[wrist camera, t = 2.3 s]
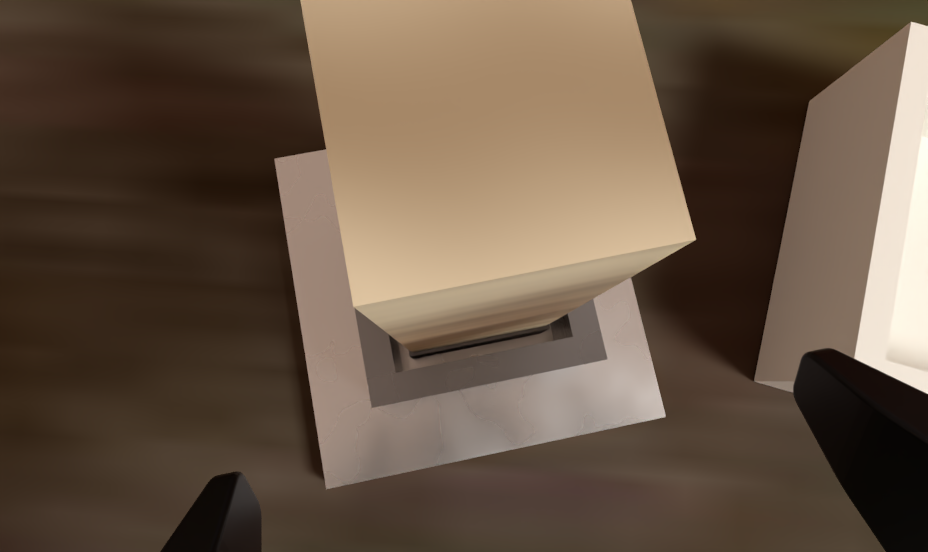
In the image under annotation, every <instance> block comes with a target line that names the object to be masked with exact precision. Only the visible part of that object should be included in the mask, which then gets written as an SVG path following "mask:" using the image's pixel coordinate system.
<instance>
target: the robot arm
mask: <svg viewBox="0 0 928 552" xmlns="http://www.w3.org/2000/svg"><path fill="white" fill-rule="evenodd" d="M793 394H794V398H795V401H796V403H797V405H798V407H799V409H800V410H801V412H802V414H803V416H804V418H805V420H806V422H807V423H808V425H809V427H810V429H811V431H812V433H813V435H814V436H815V438H816V440H817V442H818V444H819V446H820V448H821V449H822V451H823V453H824V455H825V457H826V459H827V461H828V462H829V464H830V466H831V468H832V470H833V472H834V473H835V475H836V477H837V479H838V480H839V482H840V484H841V485H842V487H843V489H844V490H845V492H846V493H847V495H848V496H849V498H850V499H851V501H852V502H853V504H854V505H855V507H856V508H857V510H858V511H859V513H860V514H861V516H862V517H863V519H864V520H865V522H866V523H867V525H868V526H869V527H870V529H871V530H872V532H873V533H874V535H875V536H876V538H877V539H878V541H879V542H880V544H881V545H882V547H883V548H884V550H885V551H886V552H928V394H927V393H925V392H923V391H921V390H919V389H916V388H914V387H912V386H910V385H908V384H906V383H904V382H902V381H900V380H898V379H896V378H894V377H892V376H889V375H887V374H885V373H883V372H881V371H879V370H877V369H875V368H873V367H871V366H869V365H867V364H865V363H863V362H860V361H858V360H856V359H854V358H852V357H850V356H848V355H846V354H844V353H842V352H840V351H838V350H835V349H832V348H823V349H819V350H814V351H809V352H806V353H805V354H804V355H803V356H802V358H801V361H800V364H799V368H798V371H797V375H796V378H795V382H794V385H793ZM161 552H261V509H260V505H259V502H258V500H257V498H256V496H255V494H254V492H253V491H252V489H251V487H250V485H249V483H248V481H247V480H246V478H245V476H244V475H243V474H242V473H241V472H231V473H226V474H222V475H217V476H215V477H213V478H212V479H211V480H210V481H209V482H208V484H207V485H206V487H205V488H204V489H203V491H202V492H201V494H200V495H199V497H198V498H197V500H196V501H195V502H194V504H193V505H192V507H191V508H190V510H189V511H188V513H187V514H186V515H185V517H184V518H183V520H182V521H181V523H180V524H179V526H178V527H177V528H176V530H175V531H174V533H173V534H172V536H171V537H170V539H169V540H168V541H167V543H166V544H165V546H164V547H163V549H162V550H161Z"/></svg>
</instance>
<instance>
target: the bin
mask: <svg viewBox="0 0 928 552" xmlns="http://www.w3.org/2000/svg"><path fill="white" fill-rule="evenodd" d="M823 348H832V349H835V350H838V351H840V352H842V353H844V354H846V355H848V356H850V357H852V358H854V359H856V360H858V361H860V362H863V363H865V364H867V365H869V366H871V367H873V368H875V369H877V370H879V371H881V372H883V373H885V374H887V375H889V376H892V377H894V378H896V379H898V380H900V381H902V382H904V383H906V384H908V385H910V386H912V387H914V388H916V389H919V390H921V391H923V392H925V393H927V394H928V26H925V25H921V24H917V23H913V22H910V23H909V24H908V25H907V26H905V27H904V28H903V29H901V30H900V31H899V32H898V33H896V34H895V35H894V36H892V37H891V38H890V39H889V40H887V41H886V42H885V43H883V44H882V45H881V46H880V47H878V48H877V49H876V50H874V51H873V52H872V53H871V54H869V55H868V56H867V57H865V58H864V59H863V60H862V61H860V62H859V63H858V64H856V65H855V66H854V67H853V68H851V69H850V70H849V71H847V72H846V73H845V74H844V75H842V76H841V77H840V78H838V79H837V80H836V81H835V82H833V83H832V84H831V85H829V86H828V87H827V88H826V89H824V90H823V91H822V92H820V93H819V94H818V95H817V96H815V97H814V98H813V99H811V100H810V101H809V104H808V110H807V115H806V120H805V125H804V130H803V135H802V140H801V145H800V150H799V155H798V160H797V165H796V170H795V175H794V181H793V186H792V191H791V196H790V201H789V206H788V211H787V216H786V221H785V226H784V231H783V236H782V241H781V246H780V252H779V257H778V262H777V267H776V272H775V277H774V282H773V287H772V292H771V297H770V302H769V307H768V312H767V317H766V322H765V328H764V333H763V338H762V343H761V348H760V353H759V358H758V363H757V368H756V373H755V378H754V382H758V383H761V384H765V385H768V386H772V387H775V388H779V389H782V390H786V391H789V392H793V385H794V382H795V378H796V375H797V371H798V368H799V364H800V361H801V358H802V356H803V355H804V354H805V353H806V352H809V351H814V350H819V349H823Z"/></svg>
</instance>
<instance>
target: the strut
mask: <svg viewBox="0 0 928 552" xmlns="http://www.w3.org/2000/svg"><path fill="white" fill-rule="evenodd" d="M301 6H302V12H303V18H304V23H305V29H306V35H307V41H308V47H309V52H310V58H311V64H312V70H313V76H314V81H315V87H316V93H317V99H318V105H319V110H320V116H321V122H322V128H323V134H324V139H325V145H326V151H327V157H328V163H329V168H330V174H331V180H332V186H333V191H334V197H335V203H336V209H337V215H338V220H339V226H340V232H341V238H342V244H343V249H344V255H345V261H346V267H347V273H348V278H349V284H350V290H351V296H352V302H353V307H354V308H355V309H357V310H358V311H359V312H361V313H362V314H363V315H365V316H366V317H367V318H368V319H370V320H371V321H372V322H374V323H375V324H376V325H377V326H379V327H380V328H381V329H383V330H384V331H385V332H386V333H388V334H389V335H390V336H392V337H393V338H394V339H395V340H397V341H398V342H399V343H401V344H402V345H403V346H404V347H406V348H407V349H408V350H409V356H410V357H411V358H412V359H418V358H423V357H427V356H432V355H437V354H442V353H447V352H452V351H457V350H462V349H467V348H472V347H477V346H482V345H487V344H492V343H497V342H502V341H507V340H512V339H516V338H521V337H526V336H531V335H536V334H540V333H542V332H544V331H546V330H548V329H550V326H549V324H550V323H552V322H553V321H555V320H557V319H559V318H560V317H562V316H564V315H566V314H567V313H569V312H571V311H573V310H574V309H576V308H578V307H580V306H581V305H583V304H585V303H587V302H588V301H590V300H592V299H594V298H595V297H597V296H599V295H601V294H602V293H604V292H606V291H608V290H609V289H611V288H613V287H615V286H616V285H618V284H620V283H621V282H623V281H625V280H627V279H628V278H630V277H632V276H634V275H635V274H637V273H639V272H641V271H642V270H644V269H646V268H648V267H649V266H651V265H653V264H655V263H656V262H658V261H660V260H662V259H663V258H665V257H667V256H669V255H670V254H672V253H674V252H676V251H677V250H679V249H681V248H683V247H684V246H686V245H688V244H690V243H691V242H693V241H695V240H696V237H695V234H694V230H693V226H692V223H691V219H690V215H689V212H688V208H687V204H686V201H685V197H684V193H683V190H682V186H681V182H680V179H679V175H678V171H677V168H676V164H675V160H674V157H673V153H672V149H671V146H670V142H669V138H668V135H667V131H666V127H665V124H664V120H663V116H662V113H661V109H660V105H659V102H658V98H657V95H656V91H655V87H654V84H653V80H652V76H651V73H650V69H649V65H648V62H647V58H646V54H645V51H644V47H643V43H642V40H641V36H640V32H639V29H638V25H637V21H636V18H635V14H634V10H633V7H632V3H631V0H301Z"/></svg>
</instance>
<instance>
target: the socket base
mask: <svg viewBox="0 0 928 552" xmlns="http://www.w3.org/2000/svg"><path fill="white" fill-rule="evenodd" d="M274 160H275V166H276V172H277V179H278V185H279V191H280V198H281V204H282V211H283V217H284V223H285V230H286V236H287V242H288V249H289V255H290V261H291V268H292V274H293V281H294V287H295V293H296V300H297V306H298V312H299V319H300V325H301V332H302V338H303V344H304V351H305V357H306V363H307V370H308V376H309V383H310V389H311V395H312V402H313V408H314V414H315V421H316V427H317V434H318V440H319V446H320V453H321V459H322V465H323V472H324V478H325V484H326V489H329V488H334V487H339V486H343V485H348V484H353V483H357V482H362V481H367V480H371V479H376V478H381V477H385V476H390V475H395V474H400V473H404V472H409V471H414V470H418V469H423V468H428V467H432V466H437V465H442V464H447V463H451V462H456V461H461V460H465V459H470V458H475V457H479V456H484V455H489V454H494V453H498V452H503V451H508V450H512V449H517V448H522V447H526V446H531V445H536V444H540V443H545V442H550V441H555V440H559V439H564V438H569V437H573V436H578V435H583V434H587V433H592V432H597V431H602V430H606V429H611V428H616V427H620V426H625V425H630V424H634V423H639V422H644V421H648V420H653V419H658V418H663V417H666V415H665V411H664V407H663V403H662V399H661V395H660V391H659V388H658V384H657V380H656V376H655V372H654V368H653V364H652V360H651V356H650V352H649V348H648V344H647V340H646V336H645V332H644V328H643V324H642V320H641V316H640V312H639V308H638V304H637V300H636V296H635V292H634V288H633V284H632V280H631V277H630V278H628V279H627V280H625V281H623V282H621V283H620V284H618V285H616V286H615V287H613V288H611V289H609V290H608V291H606V292H604V293H602V294H601V295H599V296H597V297H595V298H594V299H592V300H590V301H588V302H587V303H585V304H583V305H581V306H580V307H578V308H576V309H574V310H573V311H571V312H569V313H567V314H566V315H564V316H562V317H560V318H559V319H557V320H555V321H553V322H552V323H550V324H549V326H550V329H548V330H546V331H544V332H542V333H540V334H536V335H531V336H526V337H521V338H516V339H512V340H507V341H502V342H497V343H492V344H487V345H482V346H477V347H472V348H467V349H462V350H457V351H452V352H447V353H442V354H437V355H432V356H427V357H423V358H418V359H412V358H411V357H410V356H409V350H408V349H407V348H406V347H404V346H403V345H402V344H401V343H399V342H398V341H397V340H395V339H394V338H393V337H392V336H390V335H389V334H388V333H386V332H385V331H384V330H383V329H381V328H380V327H379V326H377V325H376V324H375V323H374V322H372V321H371V320H370V319H368V318H367V317H366V316H365V315H363V314H362V313H361V312H359V311H358V310H357V309H355V308H354V307H353V302H352V296H351V290H350V284H349V278H348V273H347V267H346V261H345V255H344V249H343V244H342V238H341V232H340V226H339V220H338V215H337V209H336V203H335V197H334V191H333V186H332V180H331V174H330V168H329V163H328V157H327V151H326V149H325V150H320V151H314V152H309V153H303V154H298V155H292V156H287V157H281V158H276V159H274Z"/></svg>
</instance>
